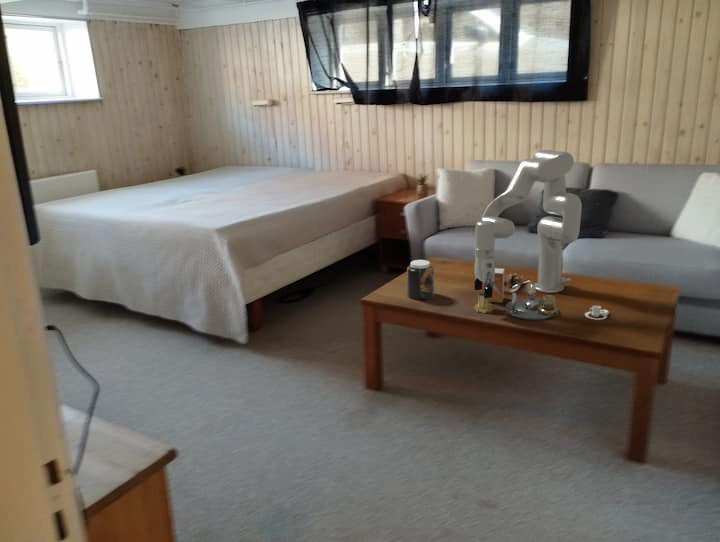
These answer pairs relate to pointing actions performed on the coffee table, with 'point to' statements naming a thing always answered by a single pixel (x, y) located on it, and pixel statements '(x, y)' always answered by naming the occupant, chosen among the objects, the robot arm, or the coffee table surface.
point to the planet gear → (483, 304)
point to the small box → (497, 286)
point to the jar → (420, 280)
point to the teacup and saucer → (597, 312)
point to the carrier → (532, 307)
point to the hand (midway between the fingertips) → (483, 293)
